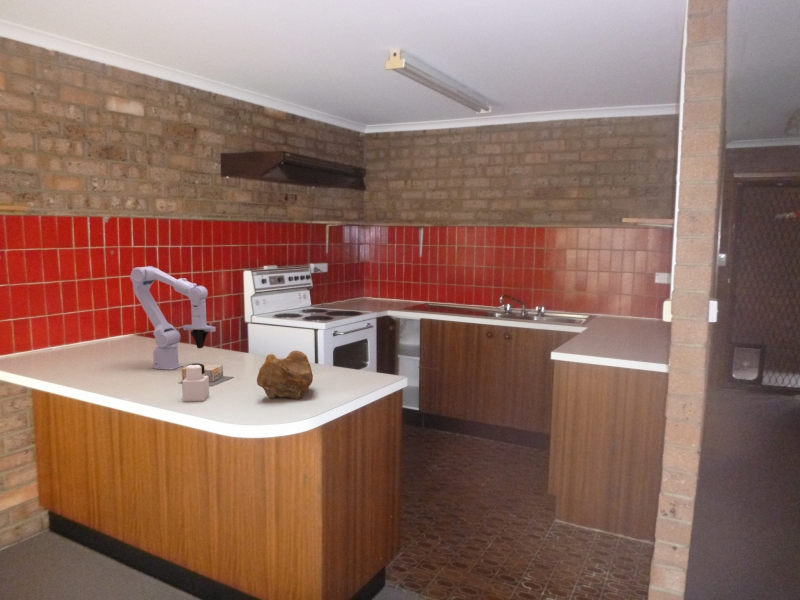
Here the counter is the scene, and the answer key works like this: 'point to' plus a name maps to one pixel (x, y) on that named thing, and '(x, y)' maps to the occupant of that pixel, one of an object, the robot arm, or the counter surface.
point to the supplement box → (209, 372)
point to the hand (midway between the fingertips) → (200, 347)
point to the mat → (218, 380)
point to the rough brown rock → (285, 375)
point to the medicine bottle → (195, 383)
